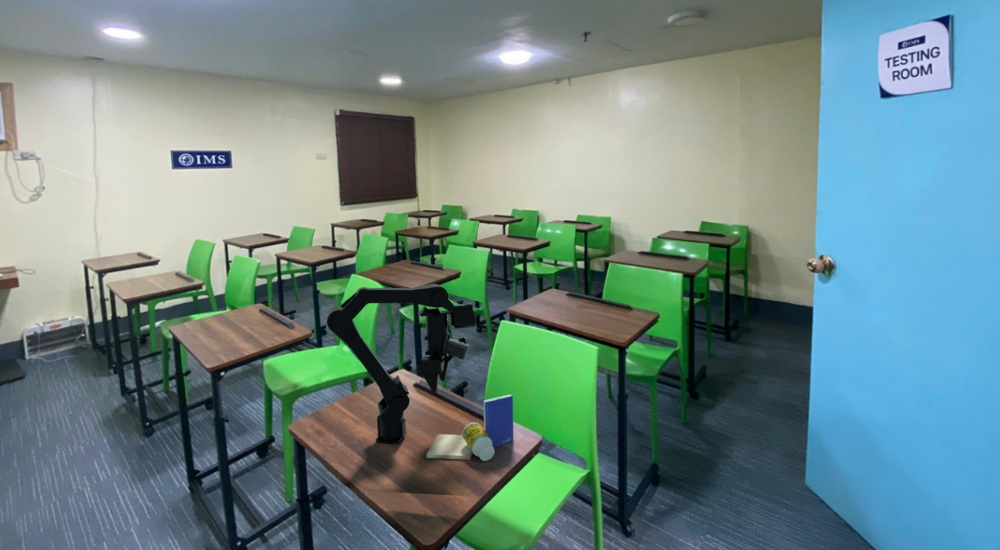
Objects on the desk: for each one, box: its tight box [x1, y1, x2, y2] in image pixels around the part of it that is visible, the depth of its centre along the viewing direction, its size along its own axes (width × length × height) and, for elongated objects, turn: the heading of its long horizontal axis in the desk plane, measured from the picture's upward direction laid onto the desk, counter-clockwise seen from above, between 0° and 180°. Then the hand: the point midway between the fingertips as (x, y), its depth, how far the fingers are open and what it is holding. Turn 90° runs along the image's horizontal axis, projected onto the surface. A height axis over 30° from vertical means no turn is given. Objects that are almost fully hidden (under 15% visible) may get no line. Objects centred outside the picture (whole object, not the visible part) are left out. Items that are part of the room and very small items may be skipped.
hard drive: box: [483, 394, 515, 448], centre depth 122 cm, size 2×8×12 cm, turn 121°
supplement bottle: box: [462, 422, 496, 462], centre depth 117 cm, size 5×5×10 cm
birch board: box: [426, 433, 474, 461], centre depth 121 cm, size 11×11×2 cm
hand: (439, 386), depth 129 cm, fingers open, 9 cm apart
